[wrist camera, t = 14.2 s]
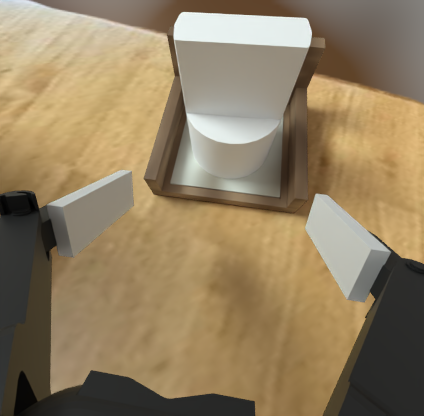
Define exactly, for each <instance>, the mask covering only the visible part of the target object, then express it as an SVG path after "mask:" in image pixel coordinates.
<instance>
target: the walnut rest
mask: <svg viewBox="0 0 424 416" xmlns="http://www.w3.org/2000/svg"><path fill="white" fill-rule="evenodd" d="M173 36H174V26H170V29H169V32H168V34H167V37H168V42H169V47H170V53H171V58H172V63H173V68H174V74H175V78H174V81H173V84H172V87H171V91H170V94H169V97H168V101H167V104H166V107H165V110H164V114H163V117H162V120H161V124H160V127H159V130H158V133H157V137H156V140H155V143H154V146H153V150H152V153H151V156H150V160H149V163H148V166H147V169H146V173H145V176H144V180H145V181H146V183H147V184H148V186H149V187H150V189H151V190H152V192H153V193H154V194H157V195H164V196H172V197H179V198H186V199H194V200H201V201H208V202H216V203H223V204H231V205H238V206H245V207H253V208H260V209H267V210H275V211H282V212H289V213H295V212H296V211H297V210H298V209H299V208H300V207H301V206H302V205H303V204H304V203H305V202H306V201H307V200H308V159H307V87H308V85H309V83H310V80H311V78H312V76H313V74H314V72H315V69H316V67H317V65H318V63H319V60H320V58H321V56H322V54H323V52H324V50H325V38H314V37H311V43H310V46H309V49H308V52H307V54H306V57H305V59H304V62H303V65H302V67H301V70H300V72H299V75H298V78H297V80H296V83H295V85H294V88H293V90H292V93H291V96H290V98H289V101H288V103H287V106H286V109H285V111H284V114H283V116H282V119H281V122H280V124H279V127H278V129H277V132H276V135H275V137H274V140H273V142H272V145H271V147H270V150H269V153H268V155H267V158H266V159H265V161H264V163H263V165H262V166H261V167H260V168H259V169H258V170H257V171H255V172H253V173H252V174H250V175H248V176H245V177H241V178H237V179H226V178H221V177H216V176H214V175H212V174H210V173H208V172H206V171H205V170H204V169H203V168H202V167H201V166H200V165H199V164H198V162H197V161H196V159H195V157H194V154H193V151H192V145H191V139H190V133H189V127H188V121H187V115H186V109H185V103H184V97H183V91H182V85H181V79H180V73H179V67H178V61H177V55H176V49H175V43H174V37H173Z"/></svg>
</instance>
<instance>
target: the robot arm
mask: <svg viewBox="0 0 424 416" xmlns="http://www.w3.org/2000/svg"><path fill="white" fill-rule="evenodd" d="M133 206H134V200H133V185H132V171H127V170H120V171H118V172H116V173H114V174H111V175H109V176H107V177H105V178H103V179H101V180H99V181H96V182H94V183H92V184H90V185H88V186H86V187H83V188H81V189H79V190H77V191H75V192H73V193H71V194H68V195H66V196H64V197H62V198H60V199H58V200H55V201H53V202H51V203H49V204H47V205H46V206H44V207H42V208H40V209H39V207H38V203H37V200H36V196H35V193H34V192H32V191H12V192H7V193H3V194H0V214H1V216H0V416H255V401H250V400H245V399H240V398H234V397H229V396H224V395H219V394H205V395H197V396H189V397H182V398H174V399H167V398H164V397H162V396H160V395H159V394H157V393H155V392H154V391H152V390H150V389H148V388H147V387H145V386H143V385H141V384H140V383H138V382H136V381H135V380H133V379H131V378H129V377H124V376H119V375H113V374H108V373H103V372H98V371H92V370H91V371H90V373H89V375H88V377H87V378H86V380H85V382H84V383H83V385H79V386H75V387H71V388H67V389H64V390H62V391H59V392H56V393H54V394H52V395H51V390H50V353H51V272H52V256H51V252H50V249H52V248H53V247H55V246H57V250H58V254H59V255H60V256H66V257H73V258H74V257H75V256H76V255H77V254H78V253H79V252H81V251H82V250H83V249H84V248H85V247H86V246H88V245H89V244H90V243H91V242H92V241H93V240H95V239H96V238H97V237H98V236H99V235H100V234H102V233H103V232H104V231H105V230H106V229H107V228H108V227H110V226H111V225H112V224H113V223H114V222H115V221H117V220H118V219H119V218H120V217H121V216H122V215H124V214H125V213H126V212H127V211H128V210H129V209H131V208H132V207H133ZM305 229H306V231H307V233H308V234H309V236H310V238H311V240H312V241H313V243H314V245H315V246H316V248H317V250H318V251H319V253H320V255H321V257H322V258H323V260H324V262H325V263H326V265H327V267H328V268H329V270H330V272H331V273H332V275H333V277H334V279H335V280H336V282H337V284H338V285H339V287H340V289H341V290H342V292H343V294H344V296H345V297H346V299H347V300H352V301H359V302H365V300H366V299H367V297H368V295H369V293H370V292H371V294H372V295H373V296H374V298H375V301H374V303H373V304H372V306H371V308H370V310H369V312H368V313H367V315H366V317H365V318H366V320H365V322H364V324H363V327H362V329H361V331H360V333H359V335H358V338H357V340H356V342H355V344H354V347H353V349H352V351H351V353H350V356H349V358H348V360H347V362H346V365H345V367H344V369H343V371H342V373H341V376H340V378H339V380H338V382H337V385H336V387H335V389H334V391H333V394H332V396H331V398H330V400H329V402H328V405H327V407H326V409H325V411H324V414H323V416H424V264H422V263H420V262H417V261H414V260H411V259H406V258H401V257H400V256H399V255H398V254H397V253H395V252H394V251H393V250H392V249H391V248H390V247H387V245H386V244H385V243H384V242H382V240H380V239H379V238H378V237H377V236H376V235H374V234H372V233H371V232H369V231H367V230H366V229H365V228H364V227H363V226H361V225H360V224H359V223H358V222H357V221H356V220H355V219H354V218H352V217H351V216H350V215H349V214H348V213H347V212H346V211H345V210H344V209H342V208H341V207H340V206H339V205H338V204H337V203H336V202H335V201H333V200H332V199H331V198H330V197H329V196H328V195H323V194H316V195H315V198H314V201H313V204H312V208H311V211H310V214H309V217H308V220H307V224H306V227H305Z"/></svg>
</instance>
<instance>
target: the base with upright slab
mask: <svg viewBox="0 0 424 416" xmlns="http://www.w3.org/2000/svg"><path fill="white" fill-rule="evenodd" d="M311 35H312V32H311V28H310V25H309V21H308V20H307V19H306V18H291V17H271V16H250V15H230V14H211V13H191V12H182V13H181V14H180V15H179V17H178V19H177V21H176V23H175V25H174V36H173V37H174V43H175V49H176V55H177V61H178V67H179V73H180V79H181V85H182V91H183V97H184V103H185V109H186V115H187V121H188V127H189V133H190V139H191V145H192V151H193V154H194V157H195V159H196V161H197V162H198V164H199V165H200V166H201V167H202V168H203V169H204V170H205V171H206V172H208V173H210V174H212V175H214V176H216V177H221V178H226V179H237V178H241V177H245V176H248V175H250V174H252V173H253V172H255V171H257V170H258V169H259V168H260V167H261V166H262V165H263V163H264V161H265V159H266V158H267V155H268V153H269V150H270V147H271V145H272V142H273V140H274V137H275V135H276V132H277V129H278V127H279V124H280V122H281V119H282V116H283V114H284V111H285V109H286V106H287V103H288V101H289V98H290V96H291V93H292V90H293V88H294V85H295V83H296V80H297V78H298V75H299V72H300V70H301V67H302V65H303V62H304V59H305V57H306V54H307V52H308V49H309V46H310V43H311Z"/></svg>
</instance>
